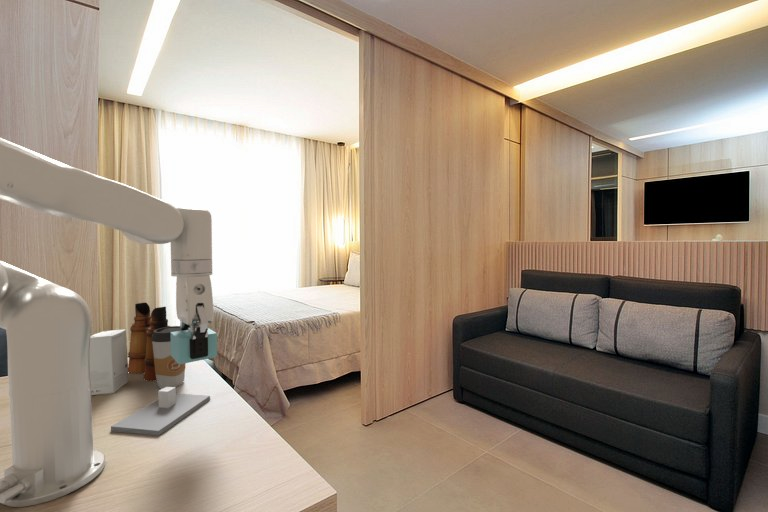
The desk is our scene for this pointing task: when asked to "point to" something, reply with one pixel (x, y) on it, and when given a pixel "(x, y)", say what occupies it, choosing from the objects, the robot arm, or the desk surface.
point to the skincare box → (108, 361)
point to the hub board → (161, 413)
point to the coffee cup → (166, 359)
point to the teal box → (182, 346)
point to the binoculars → (145, 339)
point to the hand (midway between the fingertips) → (193, 352)
